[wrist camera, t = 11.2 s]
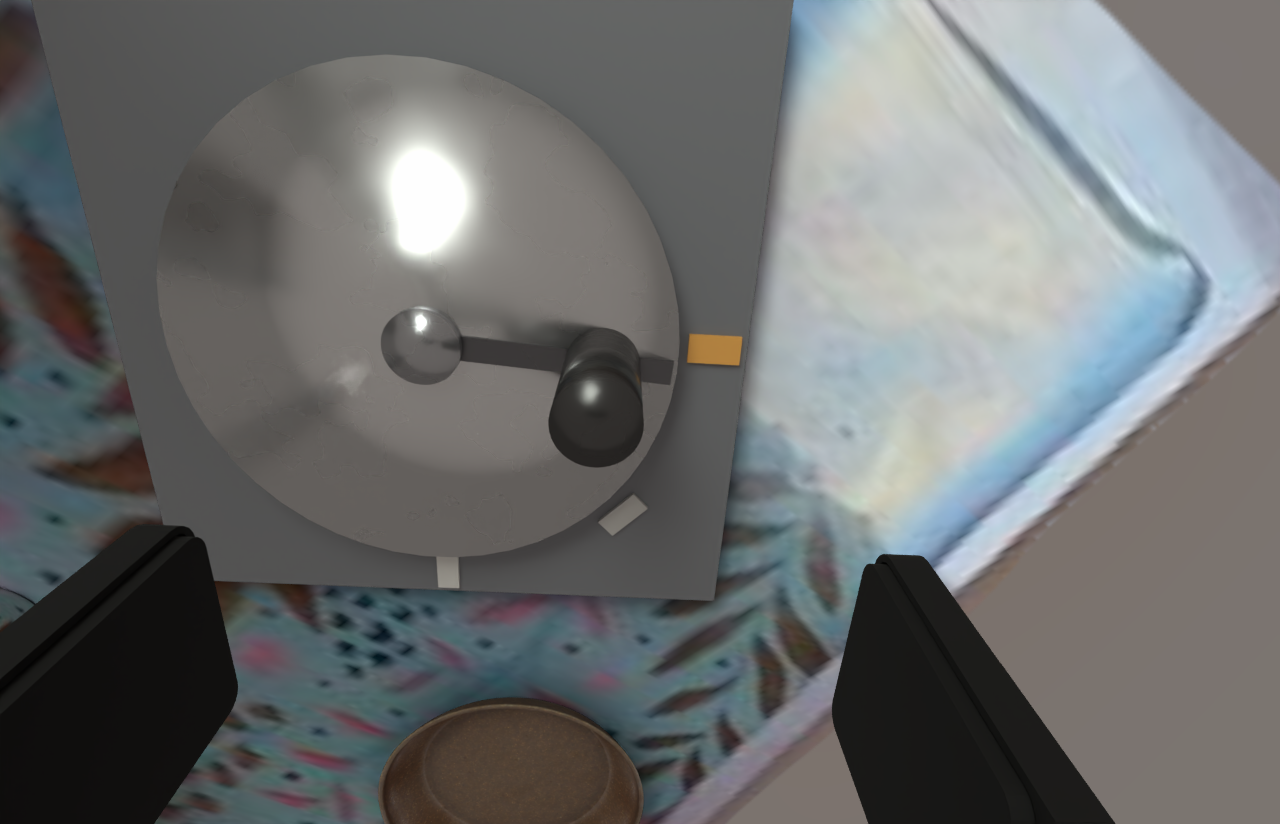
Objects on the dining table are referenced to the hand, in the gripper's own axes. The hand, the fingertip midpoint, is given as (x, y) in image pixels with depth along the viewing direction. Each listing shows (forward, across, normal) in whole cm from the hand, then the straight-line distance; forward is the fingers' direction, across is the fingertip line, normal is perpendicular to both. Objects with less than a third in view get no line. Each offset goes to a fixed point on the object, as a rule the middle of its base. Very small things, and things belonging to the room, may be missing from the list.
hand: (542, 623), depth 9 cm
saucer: (+21, +4, +28) cm, 35 cm away
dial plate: (+20, +7, +1) cm, 21 cm away
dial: (+18, +7, +1) cm, 20 cm away
